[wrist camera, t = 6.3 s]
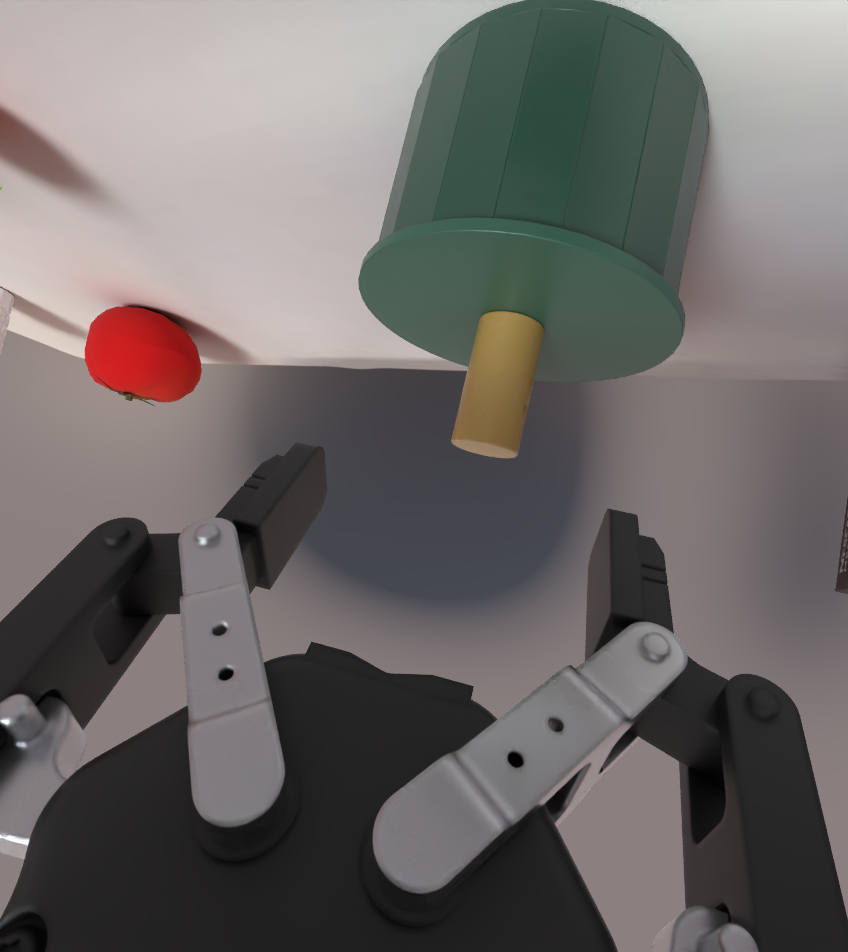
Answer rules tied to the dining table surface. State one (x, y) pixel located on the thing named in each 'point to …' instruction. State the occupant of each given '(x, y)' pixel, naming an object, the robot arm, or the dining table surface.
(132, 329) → the tomato
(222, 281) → the dining table surface
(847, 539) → the coffee box
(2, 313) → the white cup
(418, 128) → the tin
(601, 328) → the tin lid
